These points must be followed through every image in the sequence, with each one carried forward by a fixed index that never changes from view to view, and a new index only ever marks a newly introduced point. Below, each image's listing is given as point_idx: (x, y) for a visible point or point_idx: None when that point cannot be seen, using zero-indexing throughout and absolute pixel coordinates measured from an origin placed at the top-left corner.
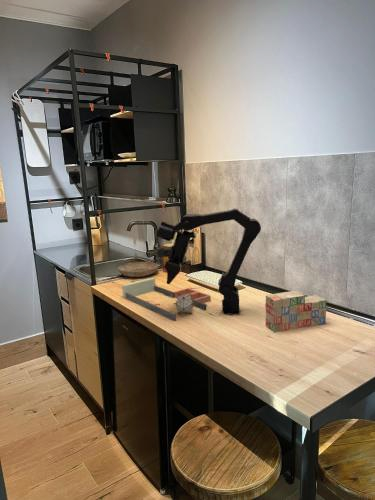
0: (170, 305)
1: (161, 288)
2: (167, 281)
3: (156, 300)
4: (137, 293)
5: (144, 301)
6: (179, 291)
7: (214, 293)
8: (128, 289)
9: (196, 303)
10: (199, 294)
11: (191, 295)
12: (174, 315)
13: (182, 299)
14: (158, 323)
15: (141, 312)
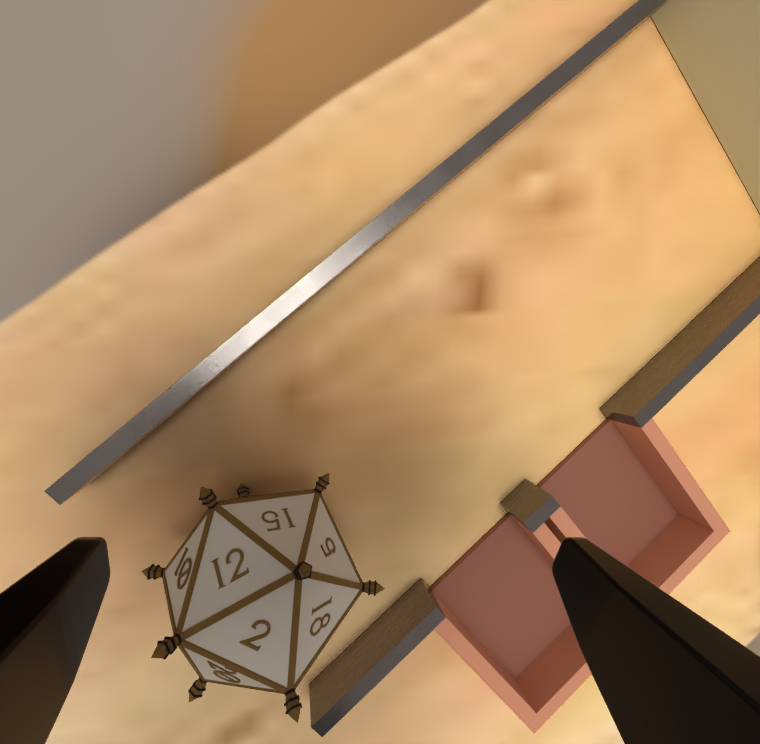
0: (445, 401)
1: (752, 304)
2: (20, 591)
3: (566, 276)
4: (715, 98)
5: (446, 166)
6: (665, 466)
7: None
8: None
9: (394, 630)
10: None
11: None
12: (49, 491)
13: (181, 614)
14: (25, 337)
15: (303, 164)
